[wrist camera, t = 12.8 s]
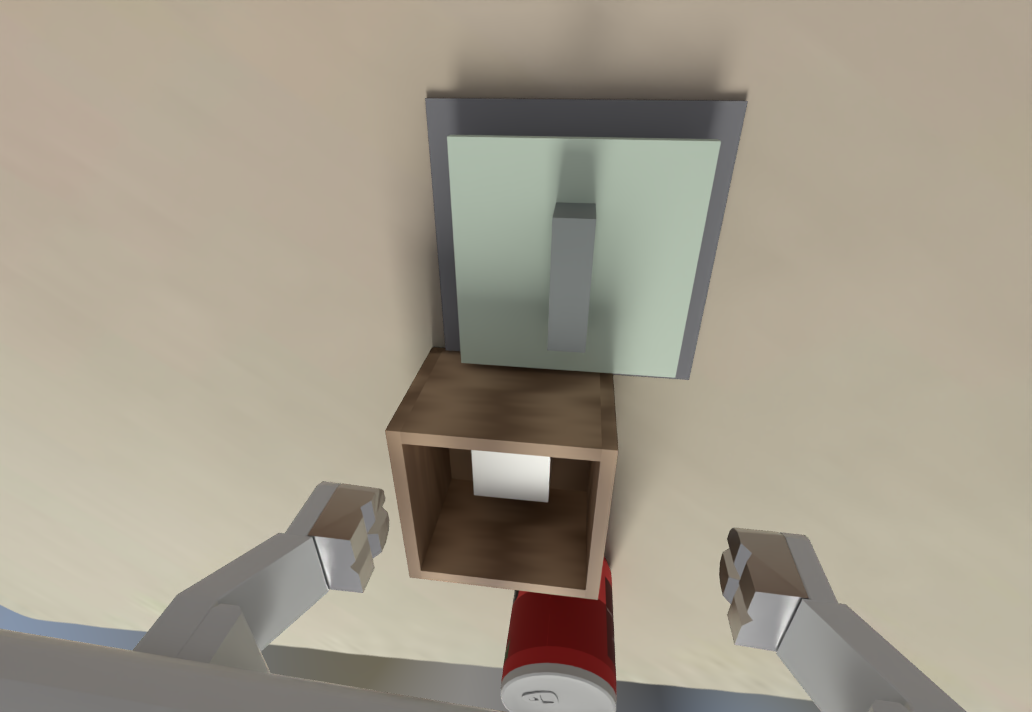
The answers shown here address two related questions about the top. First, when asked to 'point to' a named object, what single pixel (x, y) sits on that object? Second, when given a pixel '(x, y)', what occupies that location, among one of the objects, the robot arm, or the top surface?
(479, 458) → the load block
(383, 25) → the top surface
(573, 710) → the canned food
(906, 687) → the robot arm
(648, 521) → the top surface
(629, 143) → the lid
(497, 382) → the crate
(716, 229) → the dark grey flat plate
